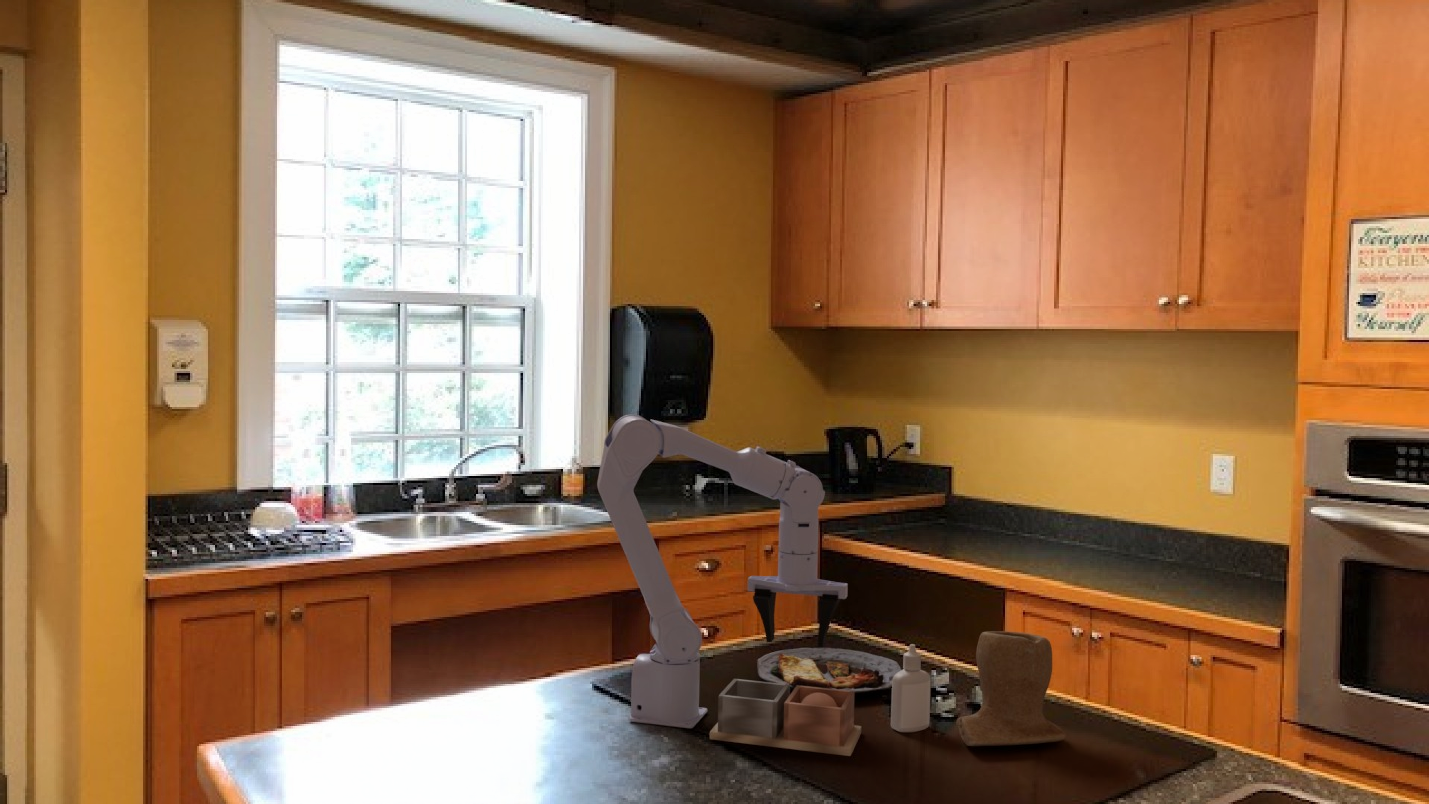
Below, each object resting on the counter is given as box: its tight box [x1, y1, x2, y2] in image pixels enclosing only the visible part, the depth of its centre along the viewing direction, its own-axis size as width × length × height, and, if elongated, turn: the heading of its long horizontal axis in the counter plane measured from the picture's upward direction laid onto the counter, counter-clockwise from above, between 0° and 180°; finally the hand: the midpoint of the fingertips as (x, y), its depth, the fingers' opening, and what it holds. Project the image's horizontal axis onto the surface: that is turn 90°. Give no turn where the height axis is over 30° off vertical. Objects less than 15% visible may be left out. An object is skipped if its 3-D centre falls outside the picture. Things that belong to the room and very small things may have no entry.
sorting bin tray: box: [709, 678, 862, 757], centre depth 159 cm, size 19×9×6 cm, turn 74°
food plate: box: [756, 647, 902, 694], centre depth 185 cm, size 25×23×4 cm
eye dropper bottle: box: [890, 643, 931, 733], centre depth 163 cm, size 4×6×12 cm
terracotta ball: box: [801, 693, 838, 707], centre depth 157 cm, size 6×6×6 cm
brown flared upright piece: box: [955, 630, 1066, 747], centre depth 159 cm, size 15×12×15 cm
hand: (795, 642), depth 168 cm, fingers open, 7 cm apart
